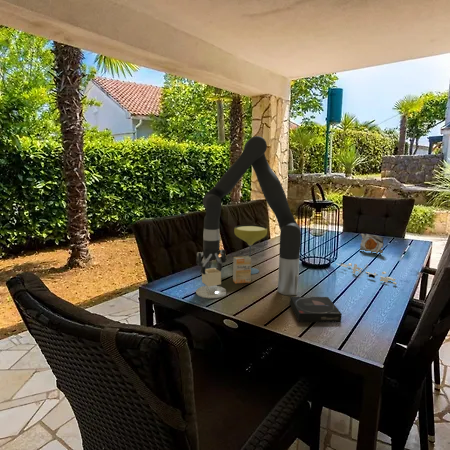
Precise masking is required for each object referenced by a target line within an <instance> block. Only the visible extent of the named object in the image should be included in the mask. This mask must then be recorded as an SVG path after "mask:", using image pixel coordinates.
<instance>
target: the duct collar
mask: <svg viewBox="0 0 450 450" xmlns="http://www.w3.org/2000/svg"><path fill="white" fill-rule="evenodd" d="M201 282H202V284H204V286H206V285H207V286H208V287H209V286H214V285H217V286H219V285H222V271H221V272H220V271H219V270H217V268H216V267H211V268H205V274H202V273H201Z"/></svg>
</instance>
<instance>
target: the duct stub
mask: <svg viewBox="0 0 450 450" xmlns="http://www.w3.org/2000/svg"><path fill="white" fill-rule="evenodd" d="M195 293H196V295H197V296H198V297H200V298H202V299H205V300H206V299H207V300H208V299H209V300H212V299H213V300H215V299H220V298H223V297H225V296H226V294H227V289H226V288H224V287H223V286H219V285H214V286H209V287H208V286H207V285H204V286H202V285H201V286H200V287H198V288H197V289H196V290H195Z"/></svg>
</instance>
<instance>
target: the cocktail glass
mask: <svg viewBox="0 0 450 450" xmlns="http://www.w3.org/2000/svg"><path fill="white" fill-rule="evenodd" d="M233 233H234V235H235V236H236V237H237V238H239V239H240V240H242V241H244V242H246V243H247V245H248V246H249V255H248V256H249V257H250V258H251V251H252V250H251V249H252V248H251V247H252V246H253V245H254V244H255V243H256V242H258V241H260V240H263V239H264V238H265V237H267V235H268V228H267V227H266V226H264V225H257V224H239V225H236V226H235V227H234V232H233ZM251 259H252V258H251ZM259 273H260V270H259V269H258V268H255V267H251V275H256V274H259Z"/></svg>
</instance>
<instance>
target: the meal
mask: <svg viewBox="0 0 450 450" xmlns="http://www.w3.org/2000/svg"><path fill="white" fill-rule="evenodd" d="M360 236H361V238H362V239H360V244H359V245H360V247H359V248H360V249H359V251H360V250H365V251H371V252H376V253H378V252H380V253H383V251H384V246H385V242H384V236H380V235H375V234H370V233H360Z"/></svg>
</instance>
